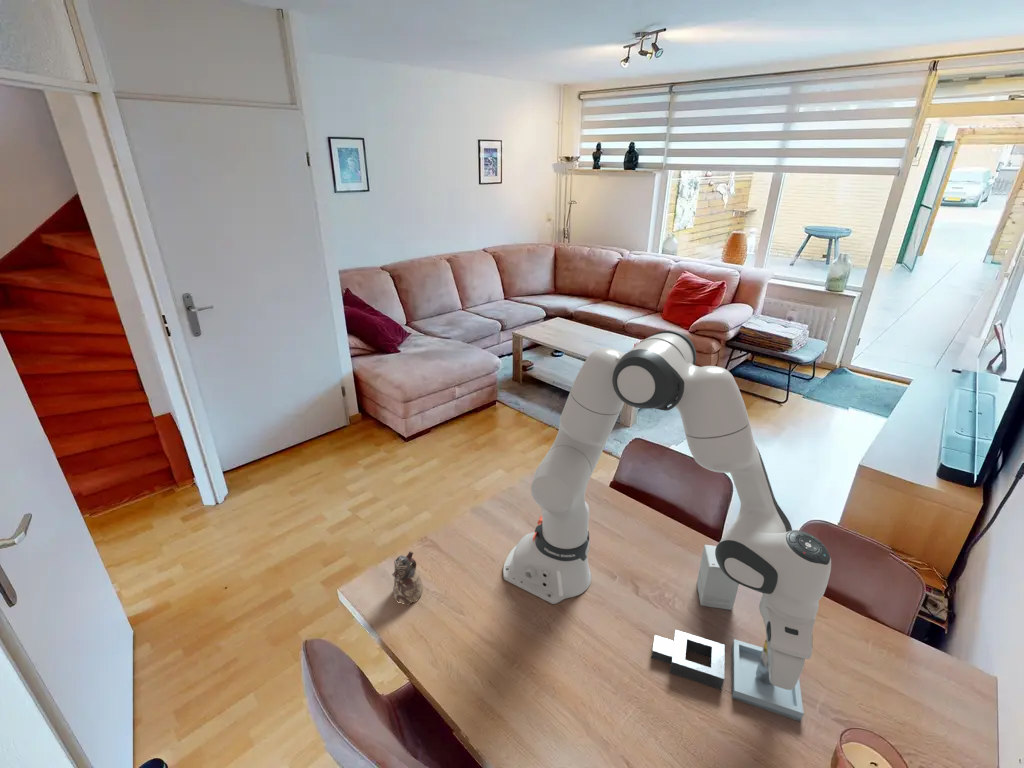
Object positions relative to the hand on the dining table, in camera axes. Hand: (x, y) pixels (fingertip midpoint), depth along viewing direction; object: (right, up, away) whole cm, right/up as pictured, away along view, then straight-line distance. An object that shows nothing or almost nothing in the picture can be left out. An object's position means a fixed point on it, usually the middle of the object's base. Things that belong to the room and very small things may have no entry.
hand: (770, 658), depth 98 cm
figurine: (-77, +2, +24) cm, 81 cm away
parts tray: (0, -6, +3) cm, 7 cm away
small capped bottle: (0, -5, +2) cm, 5 cm away
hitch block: (-14, -5, +7) cm, 17 cm away
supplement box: (-2, +3, +22) cm, 23 cm away
